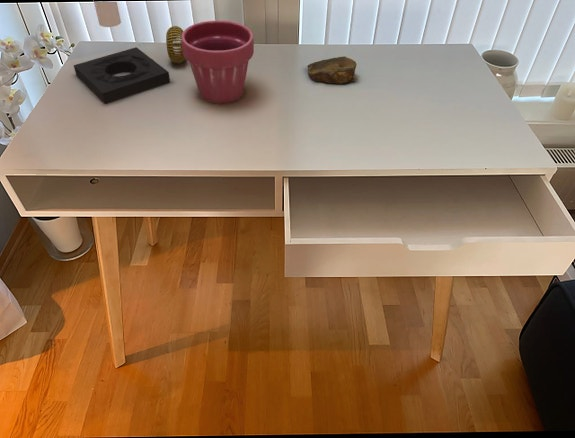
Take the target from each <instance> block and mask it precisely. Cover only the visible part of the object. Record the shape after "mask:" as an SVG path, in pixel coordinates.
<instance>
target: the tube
mask: <svg viewBox="0 0 575 438" xmlns="http://www.w3.org/2000/svg"><path fill="white" fill-rule="evenodd" d="M93 4H94V10H95V12H96V17H97V22H98V25H99V26H100V27H103V28H113V27H117V26H119V25H120V24H121V23H122V21H121V15H120V11H119V5H118V1H117V2H94V1H93Z"/></svg>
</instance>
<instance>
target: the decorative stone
mask: <svg viewBox="0 0 575 438" xmlns="http://www.w3.org/2000/svg"><path fill="white" fill-rule="evenodd" d="M306 67H307V73H308V75H309V76H310V77H311V79H312V80H314V81H315V82H325V83H329V84H335V85H338V84H339V85H340V84H341V85H347V84H348V83H349V82H353V81H355V72H356V68H357V62H356V61H355V60H354V59H352V58H350V57H347V56H345V55H343V56H338V57H331V58H328V59H322V60H317V61H314V62H312V63H309V64H308V65H307V66H306Z"/></svg>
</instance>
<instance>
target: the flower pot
mask: <svg viewBox="0 0 575 438" xmlns="http://www.w3.org/2000/svg"><path fill="white" fill-rule="evenodd" d="M183 31H184V32H183V33H182V39H181V40H182V49H183V55H184V57H185V61H187V62H188V63H189V66H190V69H191V71H192V75H193V77H194V81H195V84H196V86H197V89H198V92H199V96H200V97H201V98H202V99H203V100H204V101H206V102H209V103H212V104H228V103H232V102H235V101H237V100H239V99H241V97H242V96H243V94H244V88H245V83H246V79H247V72H248V67H249V61H250V60H251V59H252V58H253V55H254V52H255V49H254V47H255V44H254V34H253V32H252V30H251V29H250V28H249V27H247V26H245V24H241V23H239V22H235V21H231V20H207V21H200V22H196V23H194V24H192V25H189V26H188V27H187V28H184V29H183Z"/></svg>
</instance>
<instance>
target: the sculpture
mask: <svg viewBox="0 0 575 438" xmlns="http://www.w3.org/2000/svg"><path fill="white" fill-rule="evenodd" d="M183 32H184V29H183V28H182V27H180V26H178V25H172V26H171V27H169V28H168V29H167V31H166V33H165V34H166V35H165V44H166V52H167V55H168V58H169V59H170V61H171V62H173V63H175V64H182V63H184V62H185V61H186V59H185V57H184V55H183V49H182V33H183Z"/></svg>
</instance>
